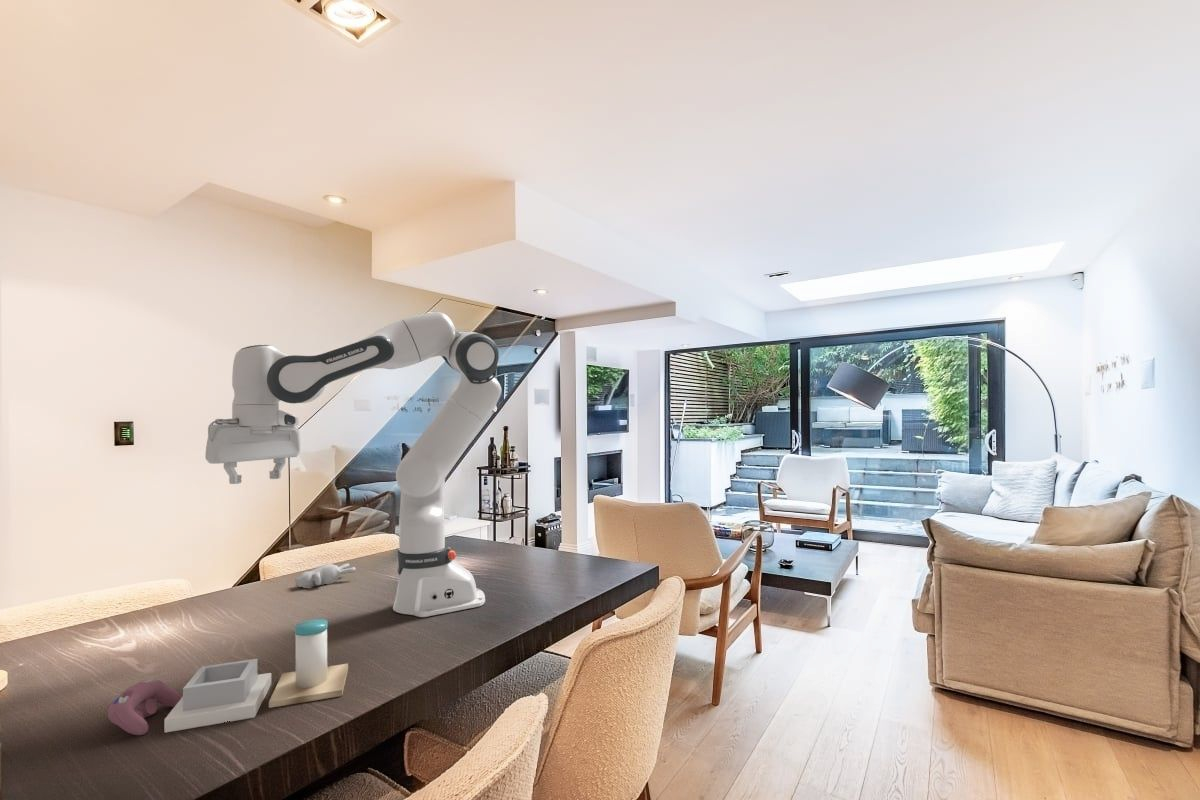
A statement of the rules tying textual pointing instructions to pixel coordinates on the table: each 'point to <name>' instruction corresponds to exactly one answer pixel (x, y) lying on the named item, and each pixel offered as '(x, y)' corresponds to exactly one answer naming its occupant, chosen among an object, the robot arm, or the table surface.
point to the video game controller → (141, 705)
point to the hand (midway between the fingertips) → (255, 481)
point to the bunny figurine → (323, 575)
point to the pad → (292, 694)
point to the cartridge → (311, 653)
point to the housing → (219, 696)
